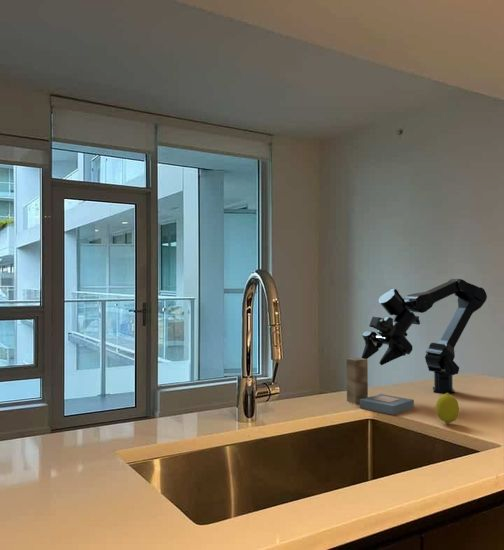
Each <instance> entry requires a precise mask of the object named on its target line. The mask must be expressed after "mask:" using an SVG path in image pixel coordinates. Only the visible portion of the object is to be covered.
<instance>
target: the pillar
mask: <svg viewBox="0 0 504 550" xmlns="http://www.w3.org/2000/svg"><path fill="white" fill-rule="evenodd" d="M368 369H369V368H368V359H363V358H362V357H347V358H346V401H348V402H349V403H352V404H355V403H357V404H360V399H364V398H368V397H369V394H368V393H369V391H368V390H369V387H368V385H369V382H368V381H369V380H368V379H369V376H368V374H369V373H368Z"/></svg>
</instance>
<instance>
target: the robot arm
mask: <svg viewBox="0 0 504 550" xmlns="http://www.w3.org/2000/svg"><path fill="white" fill-rule="evenodd" d="M452 295H454V296H456V297H457V305H458V307H457V308H456V310H455V312H454V314H453V316H452V318H451V320H450V322H449V323H448V325H447V327H446V329H445V330H444V333H443V334H442V336H441V338H440V339H439V341H438V342H431V343H430V344H429V345H428V346H429V347H428V348H427V349H426V351H425V356H424V359H425V363H426V365H427V368H428V371H429V372H434V373H433V375H434V376H433V377H434V379H433V381H434V384H433V385H434V386H432V391H433V393H444V394H446V393H449V394H455V392H456V391H455V389H454V386H453V384H454V383H453V382H454V381H453V380H454V379H453V376H455V375H458V374H459V372H460V367H459V366H458V364H457V363H456V362H455V361H454V359H455V357H456V356H455V347H456V345H457V343H458V341H459V339H460V338H461V336H462V334H463V332H464V330H465V329H466V326H467V325H468V322H469V321H470V319H471V317H472V315H473V314H474V313H475V312H476V311H478V310H479V309H481V308H482V306H483V305H484V304H485V303H486V301H487V299H488V295H487V292H486V289H484V288H483V287H479V286H477V285H474V284H473V283H470V282H468V281H466V280H464V279H462V278H451V279H449V280H447V281H446V282H444V283H441V284H440V285H438V286H435V287H433V288H431V289H428V290H426V291H423V292H415V293H410V294H407V295H406V296H405V297H404V298H403V296H402V295H401V294H400V293H399V290H397V288H390V290H388V291H387V292H385V293H383V294H381V296H380V297H379V298H378V302H379V304H380V305H381V306H382V308H383V309H384V310H385V311H386V312H387V314H388V315H390V316H394V317H390V316H385V317H379V316H372V317H371V319H370V323H369V325H368V326H369V327H370V328H373V329H375V330H376V331H377V332H375V331H372V330H366V331H364V332H363V334H362V338H363V340H364V343H365V345H364V349H363V352H362V355H361V358H363V359H367V360H368V359H369V358H371V357H372V356H373V355H375V354H376V353H377V352H378V351H379V350H380V348H382V346H383V345H388V348H387V349H386V350H385V353H384V354H383V356H382V357H381V358H380V360H379V365H380V366H383V365H386V364H387V363H389V362H392V361H394V360H395V359H399V358H401V357H403V356H406V355H410V354H411V353H412V351H413V344H412V343H411V342H410V341H409V340H408V339H407V336H408V333H407V331H408V330H409V329H410V327H411V326H412V325H420V324H421V321H420V316H418V315H415V313H423V314H424V313H425V312H428V310H430V309H431V308H433V305H435V303H437V302H440V301H441V300H444V299H445V298H447V297H449V296H452ZM377 333H378V334H377Z"/></svg>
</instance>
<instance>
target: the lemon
mask: <svg viewBox="0 0 504 550" xmlns="http://www.w3.org/2000/svg"><path fill="white" fill-rule="evenodd" d="M435 411H436V415H437V416H438V418H439V419H440V420H441V421H442V422H444V423H445V425H450V424H452V422H453V423H454V422H455V421H456V420H457V419H458V417H459V413H460V406H459V402H458V400H457V399H456V397H455V396H453V395H452V394H451V393H444V394H442V395H440V396H439V397H438V399H437V400H436V405H435Z"/></svg>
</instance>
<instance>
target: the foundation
mask: <svg viewBox="0 0 504 550" xmlns="http://www.w3.org/2000/svg"><path fill="white" fill-rule="evenodd" d="M412 408H413V409H414V408H415V399H412V398H405V397H401V396H396V395H394V396H393V395H390V394H383V393H380V394H375V395H371V396H368V398H364V399H360V403H359V409H362V410H363V409H364V410H367V411H373V412H376V413H382V414H386V415H387V414H388V415H391V416H394V415H398V414H401V413H403V412H405V411H410V410H412ZM409 409H410V410H409Z"/></svg>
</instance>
